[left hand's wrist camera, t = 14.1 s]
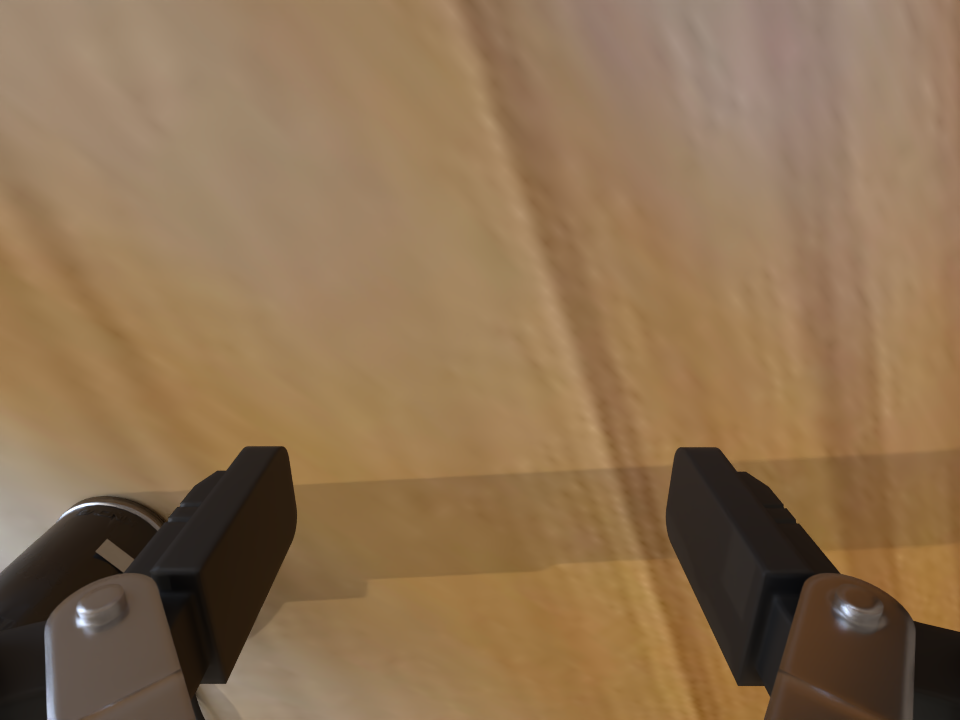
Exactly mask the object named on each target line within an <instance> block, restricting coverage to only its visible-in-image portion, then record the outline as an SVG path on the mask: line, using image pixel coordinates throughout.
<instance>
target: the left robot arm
mask: <svg viewBox="0 0 960 720" xmlns="http://www.w3.org/2000/svg"><path fill="white" fill-rule="evenodd" d="M296 523H297V508H296V501H295V495H294V488H293V481H292V475H291V468H290V461H289V456H288V452H287V450H286V448H285V447H283V446H247V447H245V448H244V449H243V450H242V451H241V452H240V453H239V455H238V456H237V457H236V459H235V460H234V461H233V463H232V464H231V465H230V467H229V468H228V469H227V470H226V471H216V472H215V473H213V474H212V475H210V476H209V477H207V478H206V479H204V480H203V481H201V482H200V483H198V484H197V485H195V486H194V487H193V489H192V490H191V491H190V492H189V493H188V495H187V496H186V497H185V498H184V500H183V501H182V502H181V503H180V507H177V508H176V509H175V511H174V512H173V513H172V514H171V515H170V517H169V518H168V522H164V521H163V520H162V519H161V518H160V517H158V516H157V515H156V514H155V513H153V512H152V511H151V510H149V509H147V508H146V507H144V506H142V505H140V504H138V503H135V502H133V501H130V500H127V499H123V498H118V497H110V496H101V497H92V498H88V499H85V500H82V501H80V502H78V503H76V504H75V505H73V506H72V507H71V508H70V509H69V510H68V511H66V512H65V513H64V514H63V515H62V516H61V517H60V518H59V519H58V521H57V522H56V523H55V524H54V525H53V526H52V527H51V528H50V529H49V530H48V531H47V532H45V533H44V534H43V535H42V536H41V537H40V538H39V539H37V540H36V541H35V542H34V543H33V544H32V545H31V546H30V547H28V548H27V549H26V550H25V551H24V552H23V553H22V554H21V555H20V556H19V557H17V558H16V559H15V560H14V561H13V562H12V563H11V564H10V565H9V566H7V567H6V568H5V569H4V570H3V571H2V572H1V573H0V720H205V719H204V717H203V714H202V712H201V710H200V707H199V704H198V701H197V698H196V695H195V692H196V690H197V688H198V686H199V685H200V684H226V683H227V681H228V678H229V676H230V674H231V672H232V670H233V668H234V666H235V663H236V661H237V659H238V657H239V655H240V653H241V650H242V648H243V646H244V644H245V642H246V640H247V638H248V635H249V633H250V631H251V629H252V627H253V625H254V622H255V620H256V618H257V616H258V614H259V612H260V610H261V607H262V605H263V603H264V601H265V599H266V597H267V595H268V592H269V590H270V588H271V586H272V584H273V582H274V579H275V577H276V575H277V573H278V571H279V569H280V567H281V564H282V562H283V560H284V558H285V556H286V554H287V552H288V549H289V547H290V545H291V543H292V541H293V538H294V535H295V530H296ZM666 526H667V532H668V536H669V540H670V542H671V544H672V547H673V549H674V551H675V553H676V555H677V557H678V559H679V561H680V564H681V566H682V568H683V570H684V572H685V574H686V576H687V578H688V580H689V583H690V585H691V587H692V589H693V591H694V593H695V595H696V597H697V600H698V602H699V604H700V606H701V608H702V610H703V612H704V614H705V617H706V619H707V621H708V623H709V625H710V627H711V629H712V631H713V634H714V636H715V638H716V640H717V642H718V644H719V646H720V648H721V651H722V653H723V655H724V657H725V659H726V661H727V663H728V665H729V668H730V670H731V672H732V674H733V676H734V678H735V680H736V682H737V685H738V686H765V688H766V690H767V692H768V694H769V696H770V701H769V704H768V707H767V711H766V714H765V718H764V720H960V632H958V631H953V630H949V629H945V628H940V627H936V626H932V625H928V624H923V623H919V622H916V621H913V620H912V618H911V616H910V615H909V613H908V612H907V611H906V610H905V608H904V607H903V606H902V605H901V604H900V603H899V602H898V601H896V600H895V599H894V598H893V597H891V596H890V595H889V594H887V593H886V592H884V591H883V590H881V589H880V588H878V587H876V586H874V585H872V584H870V583H868V582H865V581H863V580H861V579H858V578H855V577H851V576H847V575H843V574H840V573H839V571H838V570H837V569H836V568H835V566H834V565H833V564H832V563H831V562H830V560H829V559H828V558H827V557H826V556H825V554H824V553H823V552H822V551H821V550H820V548H819V547H818V546H817V545H816V544H815V542H814V541H813V540H812V539H811V537H810V536H809V535H808V534H807V533H806V531H805V530H804V529H803V528H802V527H801V525H800V524H796V519H795V518H794V517H793V516H792V514H791V513H790V512H789V511H788V510H787V508H784V507H783V504H782V502H781V501H780V500H779V499H778V498H777V496H776V495H775V494H774V493H773V491H772V490H771V489H770V488H769V487H768V486H767V485H765V484H764V483H762V482H761V481H759V480H757V479H756V478H754V477H753V476H751V475H750V474H748V473H747V472H737V471H736V470H735V468H734V467H733V466H732V464H731V463H730V462H729V461H728V459H727V458H726V457H725V455H724V454H723V453H722V451H721V450H720V449H718V448H716V447H680V448H678V449H677V451H676V453H675V456H674V462H673V468H672V475H671V481H670V488H669V495H668V501H667V508H666Z"/></svg>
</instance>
